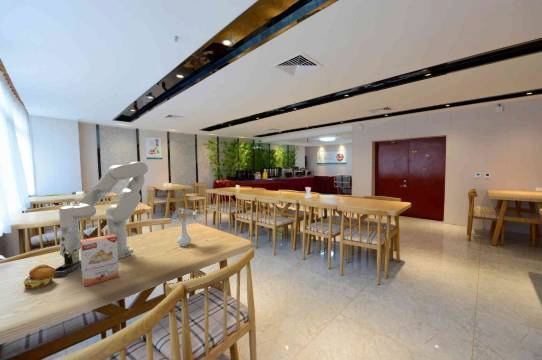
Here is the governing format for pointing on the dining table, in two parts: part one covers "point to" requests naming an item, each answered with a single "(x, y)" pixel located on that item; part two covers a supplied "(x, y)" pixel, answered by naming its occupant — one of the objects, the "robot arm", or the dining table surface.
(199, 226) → the dining table surface
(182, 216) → the flower vase
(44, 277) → the cheeseburger
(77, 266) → the tray
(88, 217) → the robot arm
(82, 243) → the cracker box
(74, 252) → the gold block
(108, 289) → the dining table surface
